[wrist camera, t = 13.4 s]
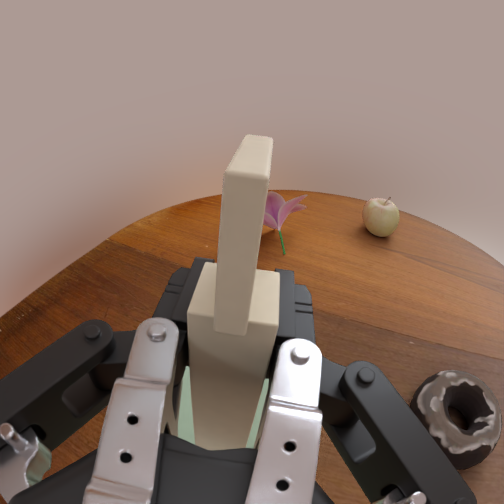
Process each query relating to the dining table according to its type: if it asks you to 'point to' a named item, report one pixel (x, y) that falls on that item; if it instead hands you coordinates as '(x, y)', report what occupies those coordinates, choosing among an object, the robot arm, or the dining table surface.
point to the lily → (280, 211)
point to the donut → (471, 406)
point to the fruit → (380, 216)
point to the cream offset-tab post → (234, 309)
